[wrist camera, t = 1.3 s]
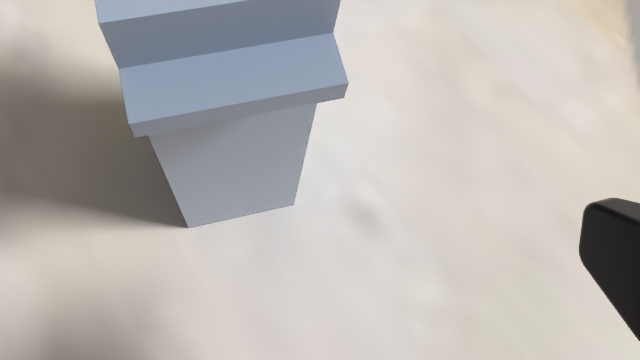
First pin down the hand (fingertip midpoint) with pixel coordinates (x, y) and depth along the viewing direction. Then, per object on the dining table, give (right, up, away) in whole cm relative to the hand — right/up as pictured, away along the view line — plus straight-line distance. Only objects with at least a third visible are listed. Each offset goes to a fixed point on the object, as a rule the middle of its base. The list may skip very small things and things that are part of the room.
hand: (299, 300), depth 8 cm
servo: (-3, +2, +14) cm, 15 cm away
